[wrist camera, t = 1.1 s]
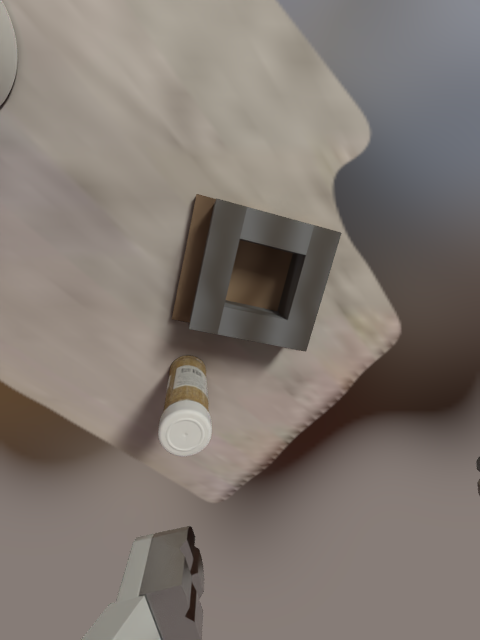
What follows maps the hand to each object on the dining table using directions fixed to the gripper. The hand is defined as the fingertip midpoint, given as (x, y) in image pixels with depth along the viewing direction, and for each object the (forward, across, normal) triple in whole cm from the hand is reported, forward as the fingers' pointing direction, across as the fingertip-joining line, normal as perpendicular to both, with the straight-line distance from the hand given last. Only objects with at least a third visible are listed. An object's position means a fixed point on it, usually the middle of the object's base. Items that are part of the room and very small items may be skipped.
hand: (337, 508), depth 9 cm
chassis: (+30, -2, -3) cm, 31 cm away
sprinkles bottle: (+30, +9, +6) cm, 32 cm away
